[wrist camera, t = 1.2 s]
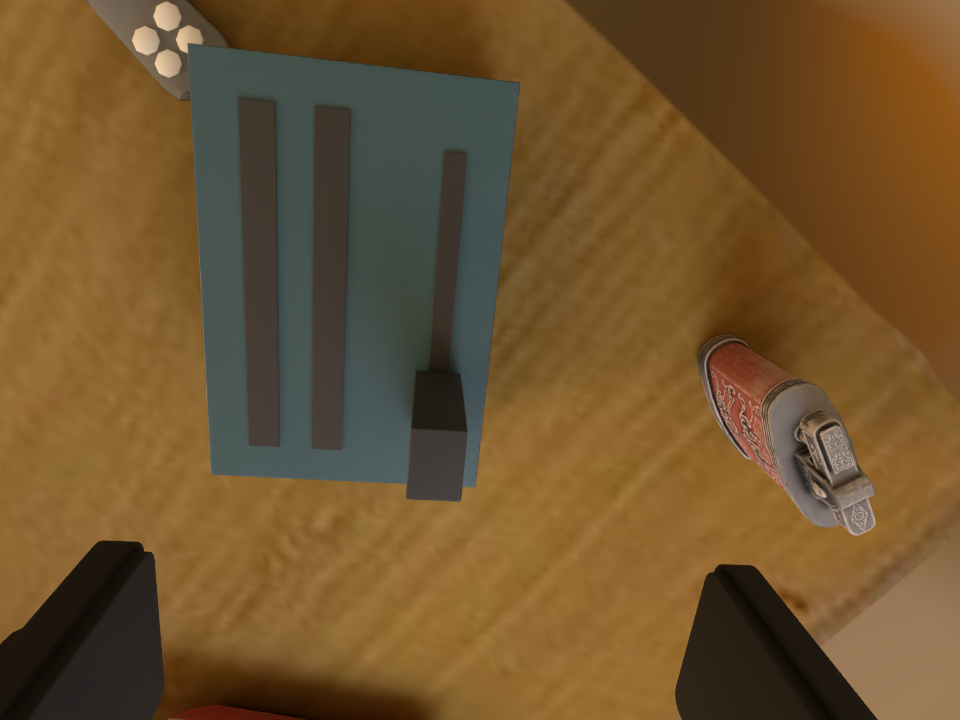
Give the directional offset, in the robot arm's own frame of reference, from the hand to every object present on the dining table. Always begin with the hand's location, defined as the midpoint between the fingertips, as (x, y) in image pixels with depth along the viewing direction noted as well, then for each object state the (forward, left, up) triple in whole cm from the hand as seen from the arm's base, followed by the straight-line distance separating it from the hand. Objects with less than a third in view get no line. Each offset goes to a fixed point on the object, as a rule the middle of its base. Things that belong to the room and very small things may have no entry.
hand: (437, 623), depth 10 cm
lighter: (-18, +4, -22) cm, 29 cm away
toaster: (+3, -2, -22) cm, 23 cm away
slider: (0, +2, -14) cm, 14 cm away
